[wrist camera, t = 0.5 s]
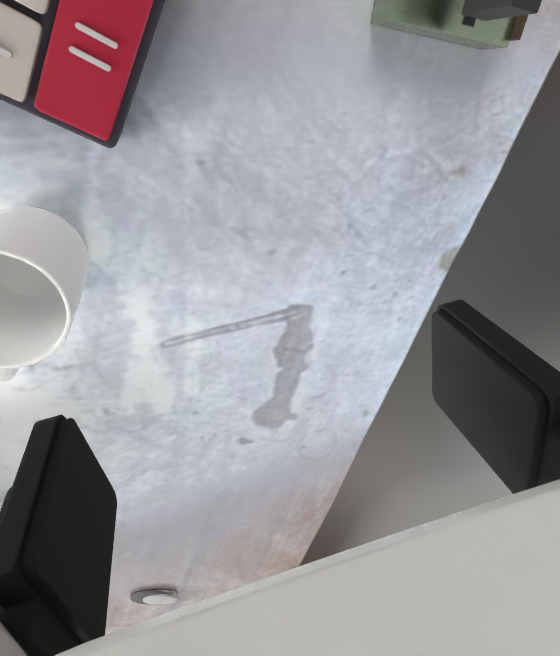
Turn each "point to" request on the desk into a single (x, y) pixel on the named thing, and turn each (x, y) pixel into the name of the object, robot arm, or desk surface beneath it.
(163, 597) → the oval pebble
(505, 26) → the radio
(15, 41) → the calculator
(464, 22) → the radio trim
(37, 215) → the mug
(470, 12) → the slider
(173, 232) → the desk surface
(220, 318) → the desk surface
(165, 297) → the desk surface
